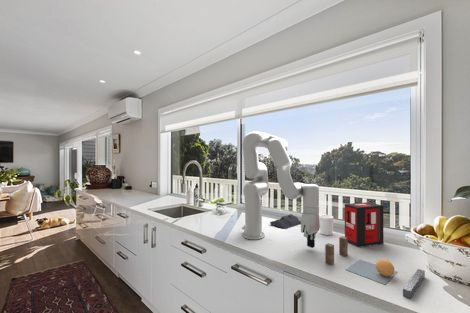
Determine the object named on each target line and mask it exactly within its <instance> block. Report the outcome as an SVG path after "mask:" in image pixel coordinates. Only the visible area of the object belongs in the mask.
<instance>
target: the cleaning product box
mask: <svg viewBox="0 0 470 313" xmlns="http://www.w3.org/2000/svg"><path fill="white" fill-rule="evenodd" d="M344 237H347V238H348V244H350V245H353V246H354V247H357V248H362V246H363V247H370V246H374V245H375V246H376V244H377V245H383V244H384V205H381V204H377V203H374V202H371V201H369V202H355V203H353V202H352V203H344ZM369 245H370V246H369Z"/></svg>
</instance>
